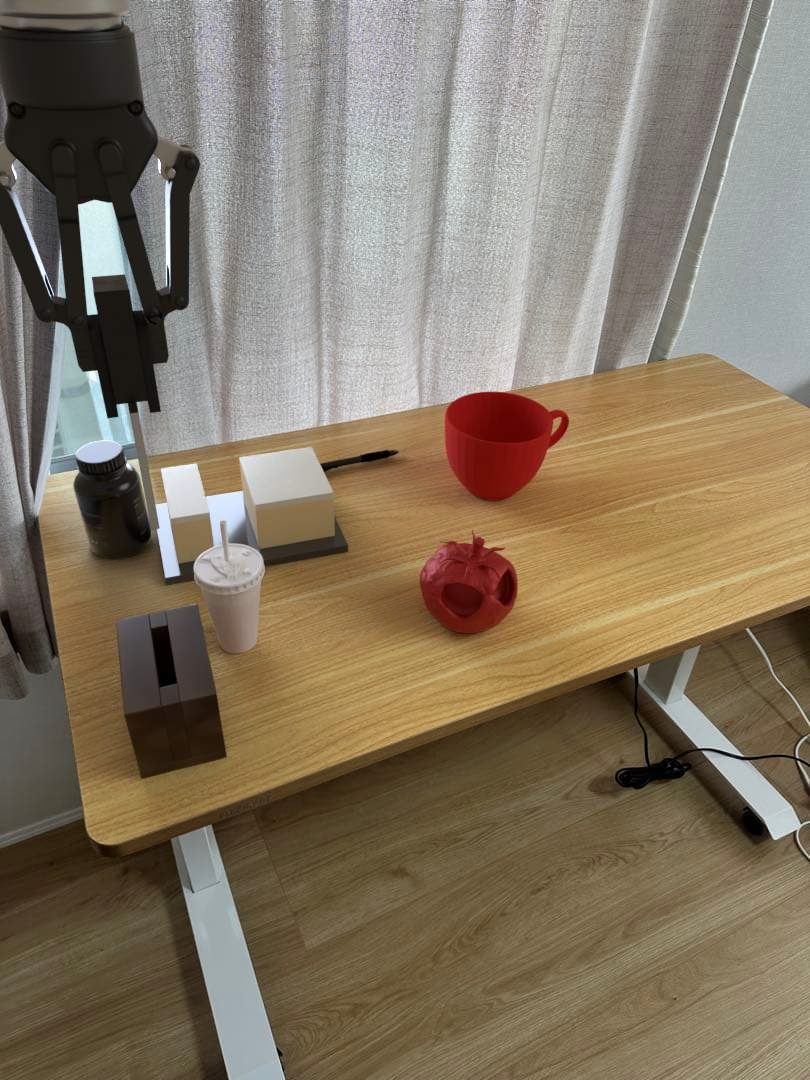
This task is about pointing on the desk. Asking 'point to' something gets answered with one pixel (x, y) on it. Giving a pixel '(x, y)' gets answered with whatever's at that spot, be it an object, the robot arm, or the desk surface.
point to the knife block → (169, 691)
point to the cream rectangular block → (187, 511)
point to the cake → (287, 497)
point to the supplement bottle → (111, 501)
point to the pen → (359, 459)
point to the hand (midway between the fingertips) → (132, 405)
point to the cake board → (238, 538)
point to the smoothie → (231, 591)
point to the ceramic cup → (498, 441)
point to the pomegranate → (468, 586)
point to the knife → (124, 363)
